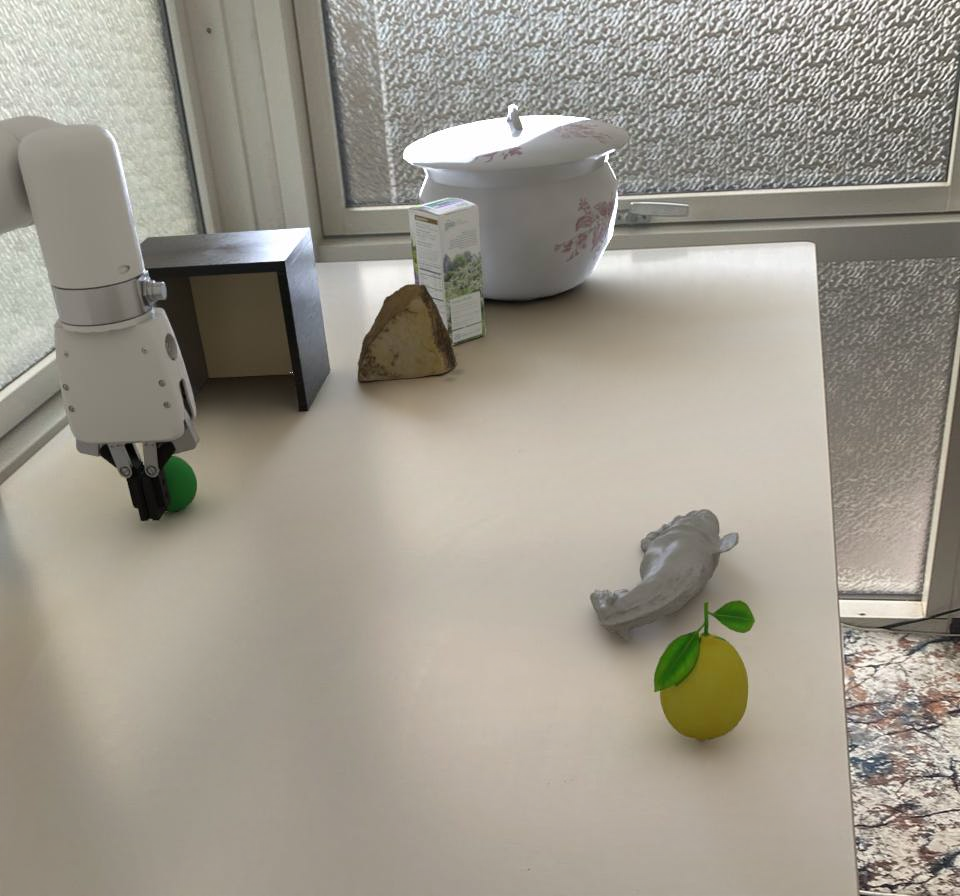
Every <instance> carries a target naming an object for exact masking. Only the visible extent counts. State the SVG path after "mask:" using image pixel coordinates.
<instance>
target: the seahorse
mask: <svg viewBox="0 0 960 896" xmlns="http://www.w3.org/2000/svg"><path fill="white" fill-rule="evenodd" d="M720 532H721V531H720V522H719V519H718V517H717V515H716V514H715V513H713V512H712V510H710V509H707V508H701V509H699V510H691V511H689V512H687V513H686V514H685V515H680V514H679V515H675V516H674V518H672V520H671V521H670V522H667V523H662V525H661V527H659V528H657V529H655V530H653V531H650V532H648V533H647V534H646V535H645V537H644V538H642V539H641V541H640V549H641V551H642V552H644V554H643V557H642V559H641V562H640V566H639V575H640V579H641V581H640V582H639V583H638V584H636V585H635V586H634V587H632V588H631V589H629V590H628V589H625V588H621V589H616V590H614V591H613V592H612V591H610V590H609V589H603V590H598V589H596V588H595V589H594V591H593V592H591V593H590V595H589V599H590V603H591V606H592V608H593V609H594V611H595V612H596V613H597V616H598V621H599V622H600V626H601V627H604V628H605V630H606V631H607V632H609V633H610V632H611V633H613V632H617V634H618V635H619V636H620V637H621V638H623V639H624V640H625V641H630V640H631V629H635V628H639V627H642V626H645V625H648V624H652V623H655V622H656V621H658V620H660V619H662V618H664V617H667V616H669V615H672V614H674V613H677V612H679V611H680V610H681V609H682V608H683V607H684V606H685V605H686V604H687V603H688V602H689V601H691V600H692V598H694V596H696V595H697V594H698V593H699V592H700V591H701V590H703V588H704V587H705V586H706V585H707V584H708V582H709V580H710V579H712V577H713V575H714V573H715V571H716V570H717V567H718V564H719V561H720V558H721V557H720V556H721V554H723V553H727V552H729V551H731V550H733V548H734V547H736V546H737V545H738V544H739V540H740V538H739V537H740V536H739V533H738V532H730V533H727V534H725V535H723V536H722V537H720Z"/></svg>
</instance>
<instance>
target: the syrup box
mask: <svg viewBox="0 0 960 896" xmlns="http://www.w3.org/2000/svg"><path fill="white" fill-rule="evenodd" d="M408 221H409V233H410V244H411V254H412V265H413V276H414V284H415V285H416V286H419V285H425V286H426V288H427V291H428V292H429V294H430V295H431V296H432V298H433V301H434V303H435V304H436V306H437V308H438V311H439V313H440V316H441V317H442V320H443V323H444V325H445V327H446V329H447V330H448V332H449V335H450V339H451V344H452V347H454V346H456V345H459V344H462V343H466V342H468V341H469V342H470V341H471V340H474V339H477V338H480V337H483V336H485V335H486V317H485V315H486V314H485V298H484V296H483V280H482V261H481V243H480V226H479V209H478V206H477V205H476V204H474V203H471V202H469V201H466V200H463V199H459V198H444V199H440V200H437V201H433V202H429V203H426V204H422V205H420V204H418V205H415V206H411V207H409V208H408Z"/></svg>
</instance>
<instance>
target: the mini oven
mask: <svg viewBox="0 0 960 896" xmlns="http://www.w3.org/2000/svg"><path fill="white" fill-rule="evenodd" d="M139 244H140V249H141V253H142V258H143V263H144V267H145V271H148V274H149V277H150V279H151V281H155V282H164V284H165V286H166V290H167V297H166V299H165V300H158V301H157V302H155V304H154V305H153V308H162V309H164V311H165V313H166V315H167V318H168V320H169V322H170V325H171V327H172V330H173V332H174V335H175V337H176V340H177V343H178V346H179V349H180V352H181V355H182V358H183V361H184V364H185V368H186V371H187V374H188V378H189V381H190V385H191V388H192V393H193V397H194V398H195V397H196V396H197V394H198V393H199V392H200V391H201V389H202V388H203V386H205V384H206V382H207V381H208V380H209V379H220V378H239V377H240V378H241V377H260V376H284V375H292V376H293V382H294V388H295V394H296V400H297V402H296V403H297V407H298V411H299V412H308V411H309V410H310V408H311V406H312V405H313V403H314V401H315V399H316V397H317V395H318V393H319V391H320V389H321V388H322V386H323V384H324V383H325V380H326V379H327V377H328V375H329V373H330V371H331V363H330V356H329V350H328V344H327V336H326V329H325V328H326V327H325V324H324V315H323V308H322V301H321V295H320V287H319V281H318V273H317V267H316V259H315V253H314V247H313V239H312V231H311V227H299V228H282V229H265V230H250V231H233V232H231V231H230V232H216V233H198V234H181V235H180V234H179V235H163V236H148V237H146V238H145V239H144V240H143V241H142V242H140V243H139ZM290 372H291V373H290ZM292 372H293V373H292Z"/></svg>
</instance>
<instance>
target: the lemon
mask: <svg viewBox="0 0 960 896" xmlns="http://www.w3.org/2000/svg"><path fill="white" fill-rule="evenodd" d="M709 615H710V616H712V617H714V618H715V619H716V620H717V621H718V622H719V623H720V624H722V625H723V626H725V627H726V629H728V630H730V631H733V632H736V633H738V634H739V633H740V634H746V633H748V632H750V631H751V630H752V628H753V627H754V624H755V623H756V620H755V616H754V614H753V612H752V610H751V608H750V606H749V605H748V604H747V603H746V602H745V601H743V600H741V599H738V600H737V599H736V600H732V601H729V602H726V603H725V604H723V605H722V606H721V607H719V608H718V609H716V610H715V611H714V612H712V611H709V601H705V602H704V603H703V617H704V618H703V623H702V624H701V626H700V627H698V628H697V630H694V631H690V632H688V633H684V634H681V635H679V636H678V637H676V638H675V639H674V640H672V641H671V642H670V643H669V644H668V645H667V646H666V648H665V650H664V651H663V653H662V654H661V655H660V657H659V659H658V662H657V665H656V666H655V670H654V674H653V686H654V689H653V692H654V693H657V692H659V700H660V706H661V709H662V711H663V714H664V716H665V719H666V720H667V722H668V723H669V724H670V726H671V727H672V728H673V729H674V730H675V731H676V732H677V733H679V734H680V735H682V736H684V737H686V738H690V739H695V740H696V741H697V742H704V741H706V740H711V739H716V738H719V737H722V736H726V735H727V734H728V733H730V732H731V731H733V730H734V729H735V728H736V727H737V726H738V725H739V723H740V722H741V721H742V719H743V717H744V715H745V713H746V710H747V707H748V699H749V677H748V673H747V669H746V666H745V662H744V661H743V658H742V657H741V655H740V654H739V652H738V650H737V649H736V647H735V646H734V645H733V644H731V643H730V642H729V641H728V640H726V639H725V638H724V637H722V636H719V635H718V634H713V633H710V632H709ZM702 629H703V632H700V631H702Z"/></svg>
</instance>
